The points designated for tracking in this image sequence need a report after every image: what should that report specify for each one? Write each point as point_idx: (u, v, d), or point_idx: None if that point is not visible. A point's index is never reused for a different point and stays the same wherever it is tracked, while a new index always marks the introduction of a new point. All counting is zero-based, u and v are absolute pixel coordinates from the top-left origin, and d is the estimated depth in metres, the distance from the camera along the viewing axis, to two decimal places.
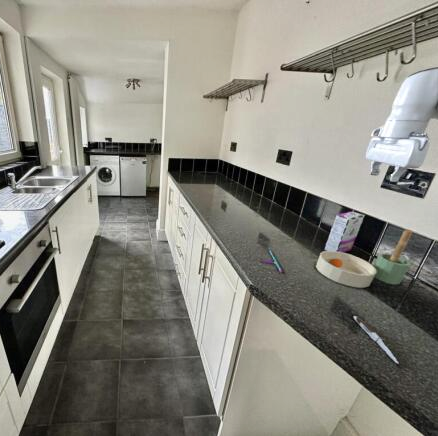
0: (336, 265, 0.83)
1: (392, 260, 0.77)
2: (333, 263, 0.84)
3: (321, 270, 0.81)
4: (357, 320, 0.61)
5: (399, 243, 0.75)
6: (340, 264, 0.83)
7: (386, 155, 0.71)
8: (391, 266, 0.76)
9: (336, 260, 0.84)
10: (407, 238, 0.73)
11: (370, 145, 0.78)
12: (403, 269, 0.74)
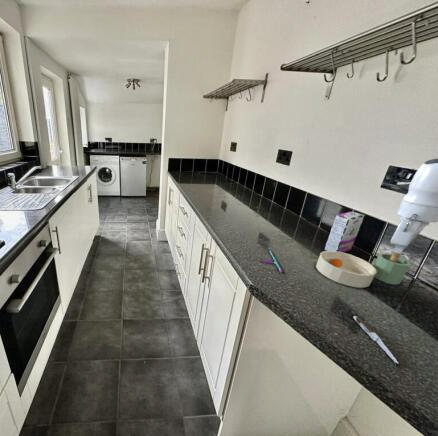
0: (336, 265, 0.83)
1: (392, 260, 0.77)
2: (333, 263, 0.84)
3: (321, 270, 0.81)
4: (356, 320, 0.61)
5: None
6: (340, 264, 0.83)
7: None
8: (391, 266, 0.76)
9: (336, 260, 0.84)
10: None
11: None
12: (403, 269, 0.74)
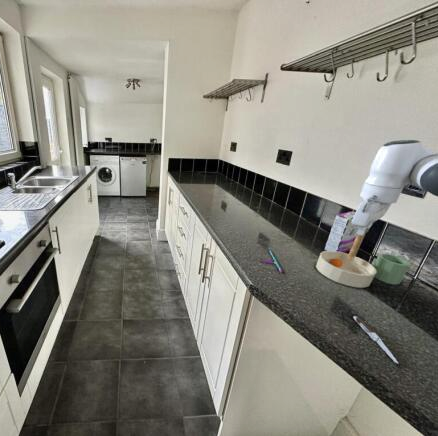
0: (336, 265, 0.83)
1: (356, 242, 0.79)
2: (333, 263, 0.84)
3: (321, 270, 0.81)
4: (356, 320, 0.61)
5: None
6: (340, 264, 0.83)
7: None
8: (391, 266, 0.76)
9: (336, 260, 0.84)
10: None
11: None
12: (403, 269, 0.74)
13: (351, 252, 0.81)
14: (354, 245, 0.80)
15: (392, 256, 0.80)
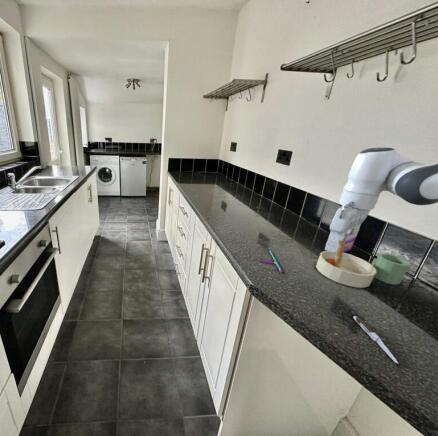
0: None
1: (339, 249, 0.79)
2: None
3: (321, 270, 0.81)
4: (356, 320, 0.61)
5: None
6: (333, 264, 0.83)
7: None
8: (391, 266, 0.76)
9: None
10: None
11: None
12: (403, 269, 0.74)
13: (337, 259, 0.80)
14: (338, 251, 0.80)
15: (392, 256, 0.80)
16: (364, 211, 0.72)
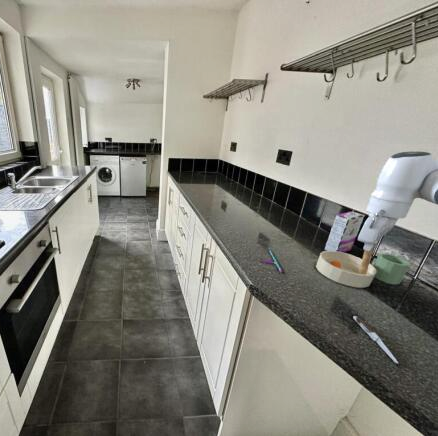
0: None
1: (365, 259, 0.74)
2: None
3: (321, 270, 0.81)
4: (356, 320, 0.61)
5: None
6: None
7: None
8: (391, 266, 0.76)
9: None
10: None
11: None
12: (403, 269, 0.74)
13: (362, 270, 0.76)
14: (364, 262, 0.75)
15: (392, 256, 0.80)
16: (395, 220, 0.67)
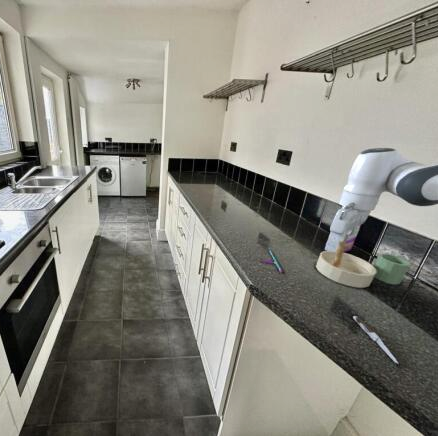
0: None
1: (339, 250, 0.79)
2: None
3: (321, 270, 0.81)
4: (356, 320, 0.61)
5: None
6: None
7: None
8: (391, 266, 0.76)
9: None
10: None
11: None
12: (403, 269, 0.74)
13: (336, 260, 0.80)
14: (338, 253, 0.79)
15: (392, 256, 0.80)
16: (365, 212, 0.71)
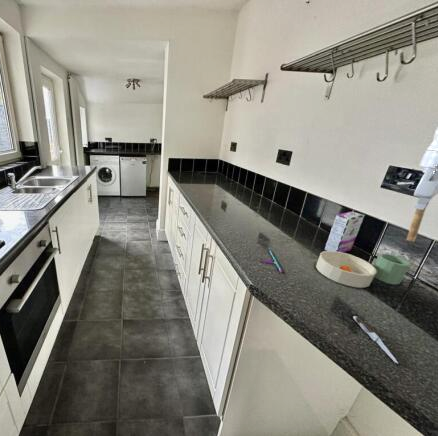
0: None
1: (416, 220, 0.71)
2: None
3: (321, 270, 0.81)
4: (356, 320, 0.61)
5: None
6: None
7: None
8: (391, 266, 0.76)
9: (342, 267, 0.80)
10: None
11: None
12: (403, 269, 0.74)
13: (412, 232, 0.72)
14: (414, 223, 0.71)
15: (392, 256, 0.80)
16: None
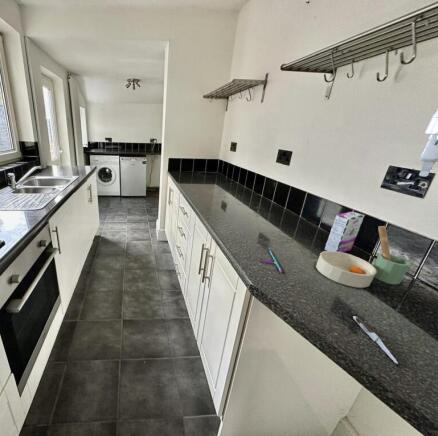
0: None
1: (386, 258, 0.79)
2: None
3: (321, 270, 0.81)
4: (356, 320, 0.61)
5: (381, 240, 0.79)
6: (358, 267, 0.79)
7: None
8: (391, 266, 0.76)
9: None
10: (385, 233, 0.78)
11: None
12: (403, 269, 0.74)
13: None
14: None
15: (392, 256, 0.80)
16: None
